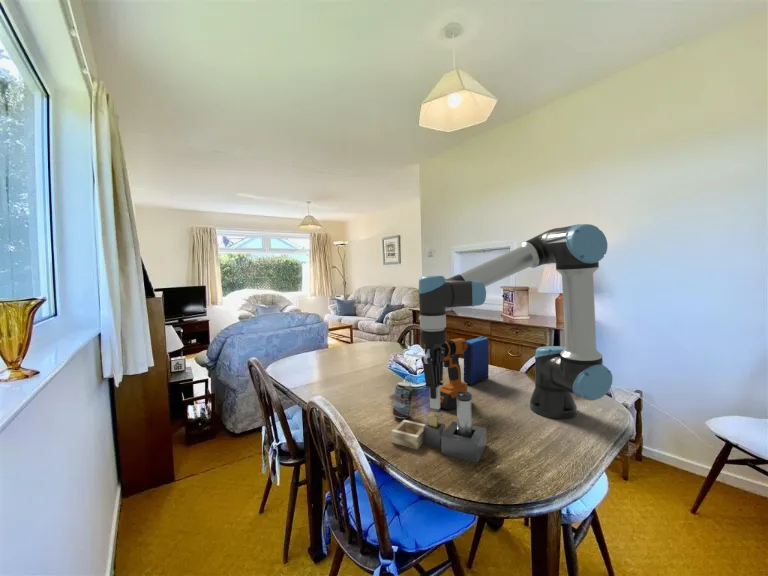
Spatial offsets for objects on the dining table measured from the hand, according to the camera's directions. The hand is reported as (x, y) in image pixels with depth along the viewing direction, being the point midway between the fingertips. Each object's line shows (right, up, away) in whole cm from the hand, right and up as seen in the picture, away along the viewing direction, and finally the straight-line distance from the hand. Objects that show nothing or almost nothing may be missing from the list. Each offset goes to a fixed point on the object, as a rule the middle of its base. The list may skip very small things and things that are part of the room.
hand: (435, 407), depth 101 cm
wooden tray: (-7, -11, +2) cm, 14 cm away
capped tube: (+8, -11, -4) cm, 14 cm away
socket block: (+5, -11, -2) cm, 13 cm away
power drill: (+9, -10, +29) cm, 32 cm away
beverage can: (-8, -11, +20) cm, 24 cm away
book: (+27, -7, +54) cm, 61 cm away
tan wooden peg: (0, -10, +1) cm, 10 cm away
